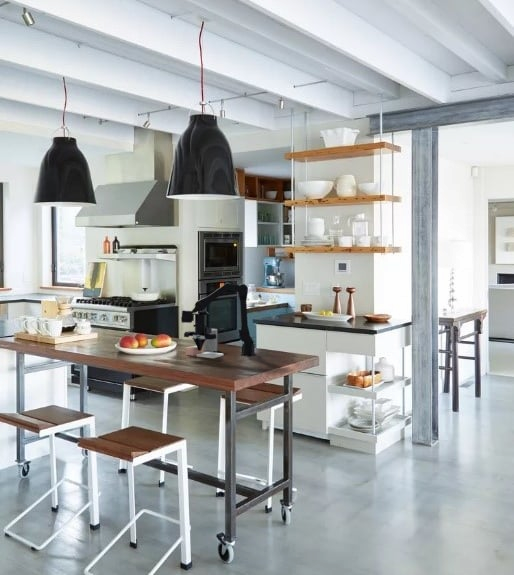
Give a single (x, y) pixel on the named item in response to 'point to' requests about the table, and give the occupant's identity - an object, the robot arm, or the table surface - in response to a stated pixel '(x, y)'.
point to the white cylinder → (211, 343)
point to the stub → (193, 350)
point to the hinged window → (209, 354)
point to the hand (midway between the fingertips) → (200, 350)
